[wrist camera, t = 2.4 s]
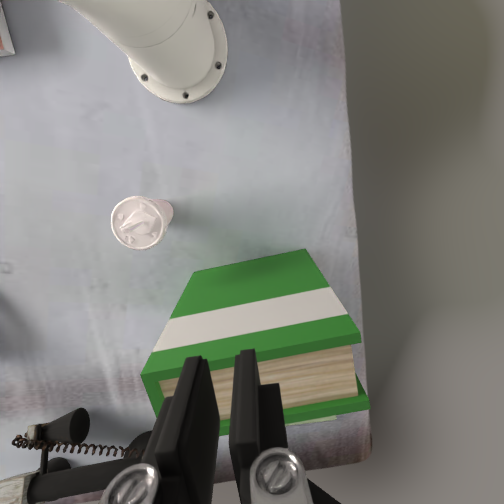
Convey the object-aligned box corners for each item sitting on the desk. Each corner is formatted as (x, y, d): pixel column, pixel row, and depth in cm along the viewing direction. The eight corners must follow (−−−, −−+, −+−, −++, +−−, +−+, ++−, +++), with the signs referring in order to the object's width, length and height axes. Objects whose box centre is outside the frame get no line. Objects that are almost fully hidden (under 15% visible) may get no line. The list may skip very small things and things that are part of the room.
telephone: (189, 388, 60) (43, 418, 61) (165, 388, 48) (-14, 424, 49) (197, 482, 53) (33, 514, 54) (171, 507, 42) (-35, 547, 43)
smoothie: (189, 225, 45) (163, 251, 32) (149, 238, 46) (108, 269, 32) (172, 183, 43) (138, 192, 30) (131, 198, 44) (79, 213, 31)
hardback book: (305, 248, 46) (360, 332, 23) (313, 292, 48) (370, 409, 25) (193, 272, 47) (140, 374, 24) (205, 313, 49) (167, 445, 26)
